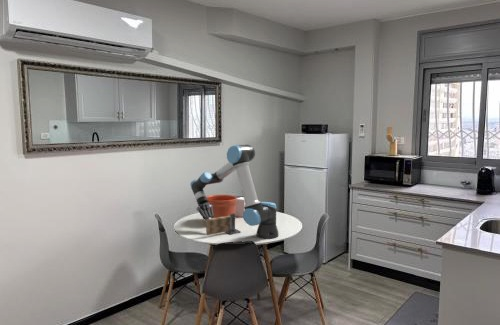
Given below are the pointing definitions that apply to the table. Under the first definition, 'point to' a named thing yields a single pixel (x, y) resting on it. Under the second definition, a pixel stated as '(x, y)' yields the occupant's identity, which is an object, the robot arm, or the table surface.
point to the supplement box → (240, 207)
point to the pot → (222, 204)
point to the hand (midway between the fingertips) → (212, 226)
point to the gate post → (232, 225)
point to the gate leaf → (217, 225)
